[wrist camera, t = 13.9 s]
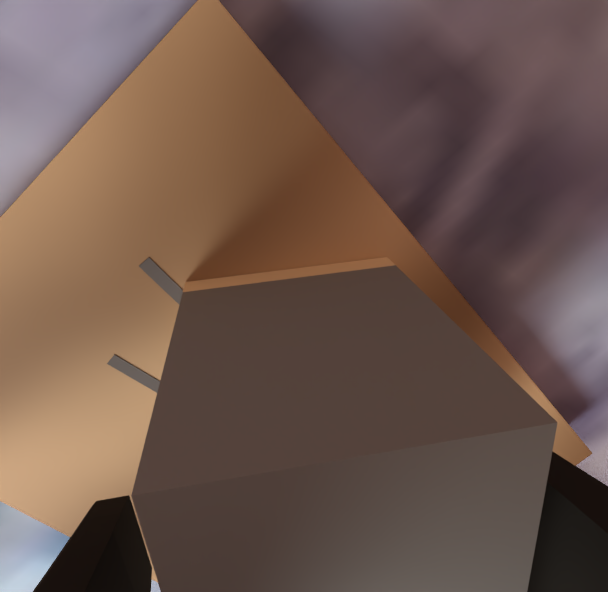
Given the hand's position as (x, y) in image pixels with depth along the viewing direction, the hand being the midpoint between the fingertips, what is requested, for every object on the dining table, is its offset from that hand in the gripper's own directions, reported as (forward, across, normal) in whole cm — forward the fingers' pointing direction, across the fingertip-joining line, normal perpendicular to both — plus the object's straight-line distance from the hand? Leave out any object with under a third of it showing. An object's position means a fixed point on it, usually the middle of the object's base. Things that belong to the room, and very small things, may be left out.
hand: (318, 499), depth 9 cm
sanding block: (+3, 0, 0) cm, 3 cm away
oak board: (+4, +1, +1) cm, 4 cm away
